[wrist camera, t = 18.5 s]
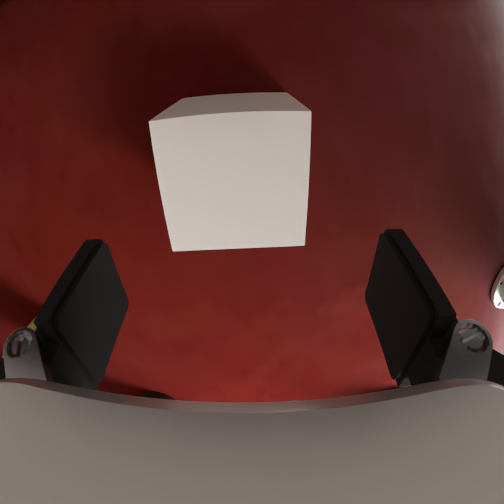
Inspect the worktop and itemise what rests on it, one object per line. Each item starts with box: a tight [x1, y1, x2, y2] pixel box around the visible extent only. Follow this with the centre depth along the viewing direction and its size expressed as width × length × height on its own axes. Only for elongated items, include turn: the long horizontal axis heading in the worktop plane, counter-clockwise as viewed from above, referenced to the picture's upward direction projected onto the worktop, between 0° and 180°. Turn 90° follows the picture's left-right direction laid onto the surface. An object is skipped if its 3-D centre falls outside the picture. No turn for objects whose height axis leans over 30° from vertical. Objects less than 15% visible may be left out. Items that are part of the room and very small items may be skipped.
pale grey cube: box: [149, 92, 311, 251], centre depth 19 cm, size 8×8×9 cm
